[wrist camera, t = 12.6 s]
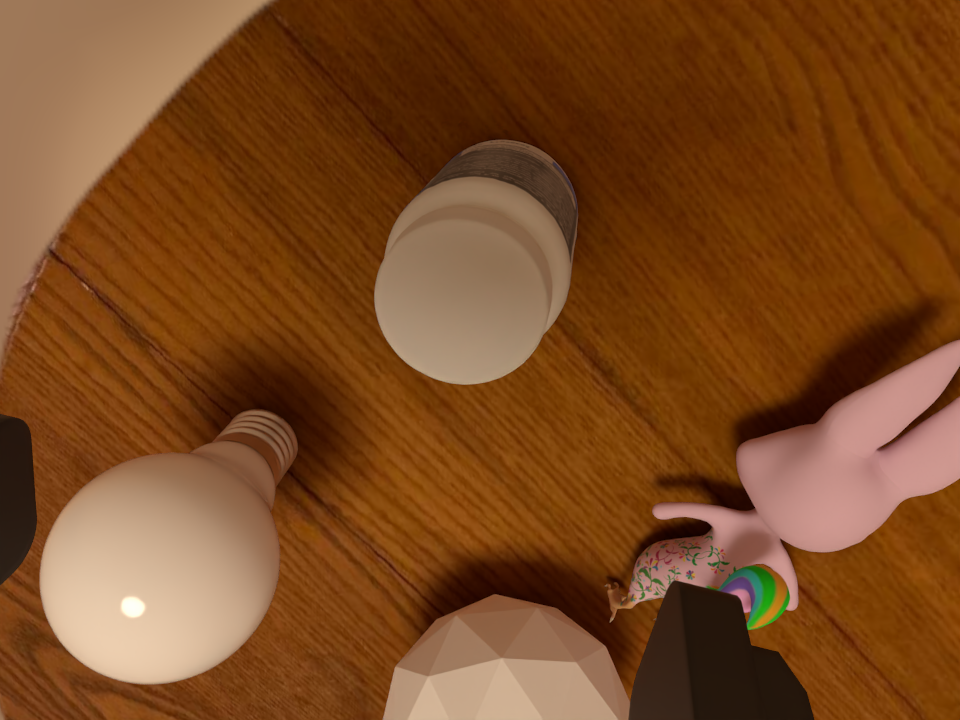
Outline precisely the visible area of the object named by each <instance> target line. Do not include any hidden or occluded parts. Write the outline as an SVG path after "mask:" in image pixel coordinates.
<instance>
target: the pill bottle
mask: <svg viewBox="0 0 960 720" xmlns="http://www.w3.org/2000/svg"><path fill="white" fill-rule="evenodd" d="M577 223H578V207H577V200H576V196H575V192H574V189H573V187H572V184H571V182H570V180H569V179H568V177H567V175H566V174H565V172H564V171H563V170H562V168H561V167H560V166H559V165H558V164H557V163H556V162H555V160H553V159H552V158H551V157H550V156H549V155H548V154H546V153H545V152H543V151H542V150H540V149H538V148H536V147H534V146H532V145H529V144H526V143H523V142H518V141H512V140H491V141H486V142H481V143H478V144H476V145H473V146H471V147H469V148H467V149H465V150H463V151H462V152H460V153H459V154H457V155H456V156H455V157H454V158H452V159H451V160H450V161H449V162H448V163H447V164H446V165H445V166H444V167H443V168H442V170H441V171H440V172H439V173H438V174H437V175H436V176H435V177H434V178H433V179H432V180H431V181H430V182H429V183H428V184H427V185H426V187H425V188H424V189H422V190H421V191H420V193H419V194H418V195H417V196H416V197H415V198H414V199H413V200H412V201H411V202H410V203H409V204H408V205H407V206H406V207H405V209H404V210H403V211H402V213H401V214H400V215H399V217H398V219H397V220H396V222H395V224H394V226H393V228H392V230H391V233H390V236H389V238H388V242H387V246H386V251H385V257H384V260H383V262H382V264H381V266H380V269H379V271H378V274H377V279H376V284H375V294H374V301H375V310H376V315H377V319H378V322H379V325H380V327H381V329H382V332H383V334H384V336H385V338H386V339H387V341H388V343H389V344H390V345H391V347H392V348H393V350H394V351H395V352H396V353H397V354H398V356H400V357H401V358H402V359H403V360H404V361H405V362H406V363H407V364H408V365H410V366H411V367H413V368H414V369H416V370H418V371H419V372H421V373H423V374H425V375H427V376H429V377H431V378H434V379H437V380H440V381H444V382H448V383H454V384H478V383H485V382H489V381H492V380H495V379H498V378H500V377H502V376H505V375H507V374H508V373H510V372H512V371H514V370H515V369H516V368H518V367H519V366H520V365H522V364H523V363H524V362H525V361H526V360H527V359H528V358H529V357H530V355H531V354H532V353H533V352H534V350H535V349H536V348H537V346H538V344H539V343H540V341H541V338H542V336H543V334H544V333H545V332H546V331H547V330H548V329H549V328H550V327H551V325H552V324H553V323H554V321H555V320H556V318H557V317H558V315H559V313H560V312H561V310H562V308H563V306H564V304H565V302H566V299H567V295H568V291H569V287H570V278H571V271H572V261H573V253H574V247H575V241H576V239H577Z"/></svg>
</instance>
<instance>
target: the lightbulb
mask: <svg viewBox="0 0 960 720" xmlns="http://www.w3.org/2000/svg"><path fill="white" fill-rule="evenodd" d="M297 452H298V442H297V438H296V435H295V433H294V431H293V429H292V428H291V426H290V425H289V424H288V423H287V422H286V421H285V420H284V419H283V418H281V417H280V416H278V415H277V414H275V413H273V412H270V411H267V410H263V409H250V410H246V411H243V412H241V413H239V414H238V415H236V416H235V417H234V418H233V419H232V421H231V422H230V423H229V424H228V425H227V426H226V428H225V429H224V430H223V431H222V432H221V433H220V434H219V435H218V436H217V437H216V439H215V440H214V441H213V442H212V443H208V444H205V445H203V446H200V447H198V448H196V449H195V450H193V451H191V452H190V453H158V454H151V455H146V456H141V457H137V458H134V459H131V460H128V461H125V462H123V463H120V464H118V465H116V466H114V467H112V468H110V469H108V470H106V471H104V472H103V473H101V474H99V475H98V476H96V477H95V478H93V479H92V480H91V481H90V482H88V483H87V484H86V485H85V486H83V487H82V488H81V489H80V490H79V491H78V492H77V493H76V494H75V495H74V496H73V497H72V498H71V500H70V501H69V502H68V503H67V504H66V506H65V507H64V508H63V510H62V511H61V513H60V514H59V516H58V517H57V519H56V521H55V523H54V524H53V526H52V528H51V530H50V533H49V535H48V538H47V540H46V543H45V546H44V550H43V554H42V558H41V565H40V594H41V600H42V604H43V608H44V612H45V615H46V617H47V620H48V622H49V624H50V626H51V628H52V630H53V632H54V634H55V635H56V637H57V638H58V640H59V641H60V642H61V644H62V645H63V646H64V647H65V648H66V649H67V651H68V652H69V653H70V654H71V655H73V656H74V657H75V658H76V659H77V660H78V661H80V662H81V663H82V664H84V665H85V666H87V667H88V668H90V669H92V670H93V671H95V672H97V673H99V674H101V675H104V676H106V677H109V678H112V679H115V680H118V681H123V682H128V683H134V684H165V683H171V682H176V681H181V680H184V679H188V678H191V677H194V676H196V675H199V674H201V673H203V672H205V671H207V670H209V669H211V668H213V667H215V666H217V665H218V664H220V663H221V662H223V661H224V660H226V659H227V658H228V657H230V656H231V655H232V654H233V653H235V652H236V651H237V650H238V649H239V648H240V647H241V646H242V645H243V644H244V643H245V642H246V641H247V640H248V639H249V638H250V637H251V635H252V634H253V633H254V632H255V630H256V629H257V627H258V626H259V625H260V623H261V621H262V620H263V618H264V617H265V615H266V613H267V611H268V609H269V607H270V604H271V602H272V599H273V597H274V594H275V591H276V587H277V583H278V578H279V571H280V544H279V538H278V533H277V529H276V525H275V522H274V519H273V516H272V513H271V511H272V508H273V504H274V500H275V488H276V487H277V485H278V483H279V482H280V481H281V479H282V478H283V476H284V475H285V474H286V472H287V470H288V469H289V468H290V466H291V464H292V463H293V461H294V460H295V458H296V456H297Z"/></svg>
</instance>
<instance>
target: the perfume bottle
mask: <svg viewBox="0 0 960 720" xmlns="http://www.w3.org/2000/svg"><path fill="white" fill-rule="evenodd" d="M629 708H630V701H629V699H628V697H627V694H626V692H625V690H624V687H623V685H622V683H621V680H620V678H619V676H618V673H617V671H616V669H615V666H614V664H613V662H612V659H611V657H610V655H609V652H608V650H607V648H606V646H605V645H604V644H602V643H601V642H600V641H598V640H597V639H596V638H595V637H593V636H592V635H591V634H589V633H588V632H587V631H586V630H584V629H583V628H582V627H580V626H579V625H578V624H577V623H575V622H574V621H573V620H571V619H570V618H569V617H568V616H566V615H565V614H564V613H562V612H561V611H560V610H559V609H557V608H554V607H550V606H546V605H541V604H537V603H532V602H528V601H523V600H519V599H515V598H510V597H506V596H501V595H497V594H494V595H491V596H489V597H487V598H484V599H482V600H480V601H478V602H475V603H473V604H471V605H468V606H466V607H464V608H461V609H459V610H457V611H455V612H452V613H450V614H448V615H445V616H443V617H441V618H438V619H436V620H435V621H434V623H433V624H432V625H431V626H430V627H429V628H428V629H427V631H426V632H425V633H424V634H423V635H422V636H421V638H420V639H419V640H418V641H417V642H416V643H415V644H414V646H413V647H412V648H411V649H410V650H409V651H408V652H407V654H406V655H405V656H404V657H403V658H402V659H401V660H400V662H399V663H398V664H397V665H396V666H395V670H394V674H393V678H392V683H391V687H390V691H389V696H388V700H387V704H386V709H385V713H384V717H383V720H628V718H629Z"/></svg>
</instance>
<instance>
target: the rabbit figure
mask: <svg viewBox="0 0 960 720" xmlns="http://www.w3.org/2000/svg"><path fill="white" fill-rule="evenodd" d="M959 366H960V340H956V341H953V342H950V343H948V344H946V345H944V346H942V347H940V348H938V349H936V350H934V351H932V352H930V353H928V354H927V355H925V356H923V357H921V358H919V359H917V360H915V361H913V362H911V363H909V364H907V365H905V366H903V367H902V368H900V369H898V370H896V371H894V372H892V373H890V374H888V375H886V376H884V377H883V378H881V379H879V380H878V381H876V382H874V383H872V384H870V385H868V386H866V387H864V388H861V389H859V390H857V391H855V392H853V393H851V394H850V395H848V396H846V397H845V398H843V399H841V400H839V401H838V402H836V403H835V404H834V405H832V406H831V407H830V408H829V409H828V410H827V411H826V413H825V414H824V415H823V417H822V418H821V419H820V420H819V421H818V422H817V423H815V424H807V425H801V426H797V427H794V428H790V429H787V430H783V431H779V432H775V433H772V434H769V435H765V436H762V437H759V438H755V439H751V440H748V441H746V442H744V443H742V444H741V445H740V446H739V447H738V449H737V454H736V463H737V470H738V474H739V477H740V480H741V482H742V484H743V486H744V488H745V490H746V492H747V494H748V496H749V497H750V499H751V501H752V503H753V505H754V507H755V508H754V509H752V510H749V511H739V510H734V509H730V508H726V507H722V506H717V505H710V504H702V503H690V502H665V503H658V504H656V505H654V506H653V509H652V512H653V514H654V516H655V517H656V518H658V519H670V518H675V517H690V518H696V519H700V520H703V521H706V522H708V523H709V524H710V525H711V526H712V528H711V530H710V531H709V532H708V533H707V534H705V535H703V536H697V537H687V538H679V539H671V540H663V541H659V542H657V543H654V544H652V545H651V546H649V547H648V548H646V549H645V550H644V551H643V552H642V553H641V555H640V556H639V557H638V559H637V561H636V564H635V567H634V571H633V575H632V579H631V584H630V588H629V593H628V596H627V598H626V596H623V595H622V594H620V589H619V585H618V583H617V582H614V584H615V586H617V587H616V588H615V589H614V590H613V589H611V585H610V584H606V585H605V586H608V587H609V590H608V591H607V592H608V596H609V600H610V610H611V611H612V612H613V614H612V616H611V619H610V622H611V621H612V620H613V619H614V617H615V614H616V612H617V609H621V608H627V609H631V608H633V607H634V606H635V605H636V604H637V603H638V602H641V601H646V600H652V599H656V598H664V596H665V594H666V591H667V589H668V587H669V585H670V584H671V583H672V582H673V581H674V580H676V581H680V582H685V583H689V584H693V585H697V586H701V587H705V588H709V589H713V590H717V591H722V592H726V593H730V594H734V595H737V596H738V597H739V598H740V600H741V602H742V606H743V610H744V613H745V612H750V611H751V612H750V616H749V620H748V623H747V629H748V630H752V629H757V628H760V627H763V626H765V625H767V624H770V623H772V622H773V621H774V620H776V619H777V618H778V617H779V616H780V615H781V614H782V613H783V612H784V611H785V609H786V610H794V609H796V608H797V606H798V583H797V577H796V574H795V571H794V568H793V565H792V562H791V560H790V557H789V555H788V553H787V551H786V550H785V548H784V547H783V545H782V543H781V541H780V538H781V539H782V540H784V541H785V542H787V543H789V544H791V545H793V546H795V547H797V548H800V549H803V550H807V551H813V552H832V551H838V550H841V549H844V548H847V547H849V546H851V545H854V544H857V543H859V542H861V541H862V540H864V539H865V538H866V537H867V536H868V535H869V534H871V533H872V532H874V531H875V530H876V529H877V528H879V527H880V526H881V525H882V524H883V523H884V522H885V521H886V520H887V518H888V517H889V516H890V515H891V513H892V512H893V511H894V509H895V508H896V507H897V506H898V505H899V504H900V503H901V502H902V501H903V500H905V499H908V498H910V497H915V496H920V495H926V494H930V493H933V492H936V491H938V490H941V489H943V488H945V487H946V486H948V485H950V484H952V483H953V482H955V481H956V480H958V479H959V478H960V396H959V397H958V398H956V399H955V400H954V401H952V402H951V403H950V404H948V405H947V406H946V407H944V408H943V409H941V410H940V411H938V412H937V413H935V414H934V415H932V416H931V417H929V418H928V419H926V420H924V421H923V422H921V423H920V424H918V425H917V426H916V427H914V428H913V429H911V430H910V431H908V432H907V433H906V434H904V435H903V436H901V437H900V438H898V439H897V440H896V441H894V442H893V443H891V444H889V445H888V446H886V447H883V448H879V447H881V446H883V445H884V444H886V443H888V442H889V441H891V440H892V439H893V438H895V437H896V436H897V435H898V434H899V433H900V432H902V431H903V430H904V429H905V428H906V427H907V426H908V425H909V424H910V423H911V422H912V421H913V420H914V419H915V418H917V417H918V416H919V415H920V414H921V413H923V412H924V411H925V410H926V409H927V408H928V407H930V406H931V405H932V404H933V403H934V402H935V401H936V399H937V398H938V397H939V396H940V395H941V393H942V392H943V391H944V389H945V388H946V386H947V385H948V383H949V382H950V380H951V379H952V377H953V376H954V374H955V373H956V371H957V370H958V368H959ZM754 564H766V565H768V566H770V567H771V568H772V569H773V570H772V569H770V568H767V567H765V566H760V565H754ZM624 599H625V600H624ZM623 600H624V601H623ZM656 619H657V618H655V619H654V620H656ZM610 622H609V623H610Z"/></svg>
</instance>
